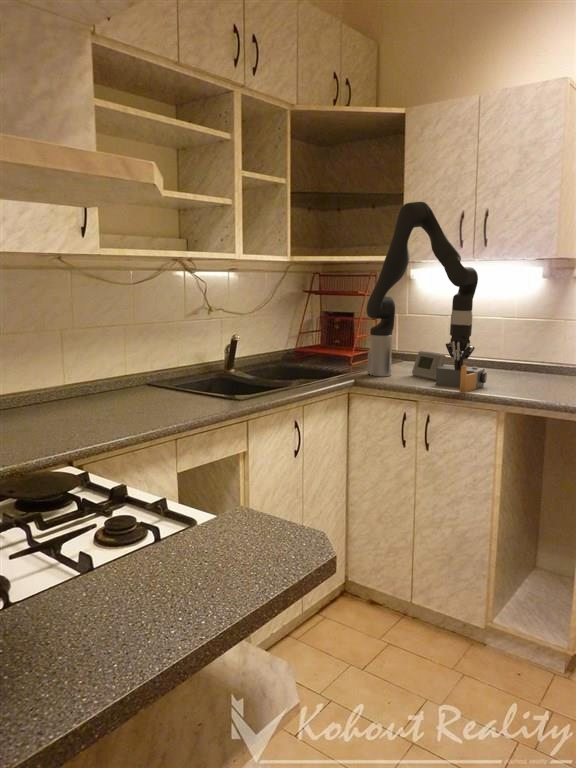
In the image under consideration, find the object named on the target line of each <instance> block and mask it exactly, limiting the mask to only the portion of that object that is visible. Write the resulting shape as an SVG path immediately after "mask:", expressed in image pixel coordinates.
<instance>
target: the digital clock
mask: <svg viewBox="0 0 576 768" xmlns="http://www.w3.org/2000/svg"><path fill="white" fill-rule="evenodd" d="M446 358H447V356H446V355H445V354H443V353H439V352H433V351H425V350H420V351H418V353H417V356H416V359H415V362H414V364H413V368H412V371H411V374H412V375H413V376H415V377H418V378H422V379H427V380H431V381H436V369H437V368H438V367H441V366H444V365H445V363H446V360H447V359H446Z"/></svg>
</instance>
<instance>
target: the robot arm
mask: <svg viewBox="0 0 576 768" xmlns="http://www.w3.org/2000/svg"><path fill="white" fill-rule="evenodd" d="M415 228H421V229H422V230H423V231H425V232H426V234H427V235H428V237H429V240H430V246H431V250H432V252H433V255H434V256H435V258H436V259H437V260H438V262H439V263H440V264H441V265H442V267H443V268H444V272H445V273H446V276H447V278H448V280H449V282H450V283H452V285H453V286H455V287H457V288H458V292H457V293H455V294H454V295H453V297H452V304H451V305H452V307H451V314H450V324H449V325H450V327H449V335H450V336H451V337H450V341H449V342H448V343H445V347H446V350H447V351H448V353H449V357H450V358H452V359H453V360H454V364H453V366H454V368H455V370H458V371H460V370H461V366H464V361H465V360H468V359H469V358H470V356H471V354H472V353H473V352H474V350H475V349H476V348H475V346H472V345H471V340H470V337H471V336H472V329H473V300H474V297H475V293H476V290H477V287H478V281H479V276H478V275H479V274H478V272H477V270H476V269H475V268H474V267H471V266H464V265H463V264H462V263H461V261H462V257H461V255H460V253H459V252H458V250H457V249H456V247H454V245H453V244H452V242H450V239H448V237H447V235H446V234H445V232H444V230H443V228H442V227H441V225H440V223H439V220H437V218H436V215H435V214H434V212H433V210H432V209H431V207H430V205H429V204H428V203H426V202H424V201H414V202H407V203H405V204H403V205H402V206H401V208H400V209H399V212H398V216H397V219H396V223H395V228H394V231H393V235H392V239H391V241H390V245H389V248H388V251H387V253H386V256H385V258H384V260H383V264H382V268H381V271H380V273H379V277H378V278H377V281H376V284H375V285H374V288H373V290H372V292H371V294H370V296H369V299H368V301H367V304H366V315H367V316H368V318H369V319H375V320H378V319H380V322H379V323H378V324H376V325H374V326H372V327H371V328H370V332H369V333H370V335H369V352H367V373H366V374H370V375H369V376H372V375H373V376H372V377H389V376H392V353H393V350H392V349H393V331H394V327H395V315H396V304H395V303H396V302H395V300H394V298H393V297H391V296H386V295H387V293H388V292H389V291H390V289H392V288H393V287H394V286H395V285H396V284H397V283H398V282H399V281H400V280H402V278H403V277H404V275H405V273H406V270H407V268H408V265H409V261H410V250H409V239H410V236H411V234H412V232H413V230H414V229H415Z"/></svg>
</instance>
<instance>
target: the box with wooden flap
mask: <svg viewBox="0 0 576 768" xmlns="http://www.w3.org/2000/svg"><path fill="white" fill-rule="evenodd" d="M474 372H478V376H477V388H478V389H479V388H481V387H483V386H484V385H485V383H487V380H488V379H487V378H488V375H487V372H486V370H485V368H482V367H481V368H480V367H479V368H478V367H477V366H472V367H469V366H467V374H472V373H474ZM467 374H466V375H467ZM460 379H461V370H460V371H458V370H455V368H454V365H445V364H444V366H441V367H438V368H437V369H436V380H435V385H436V386H447V387H454V388H455V387H457V388H460Z"/></svg>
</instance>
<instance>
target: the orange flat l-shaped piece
mask: <svg viewBox="0 0 576 768" xmlns="http://www.w3.org/2000/svg"><path fill="white" fill-rule="evenodd" d="M467 367H468V366H467V365H463V366H461V379H460V387H459V392H460V393H466V392H469V390H470V391H474V389H475V390H478V389H477V376H478V372H474V373H472V374H467ZM466 374H467V375H466Z"/></svg>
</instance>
